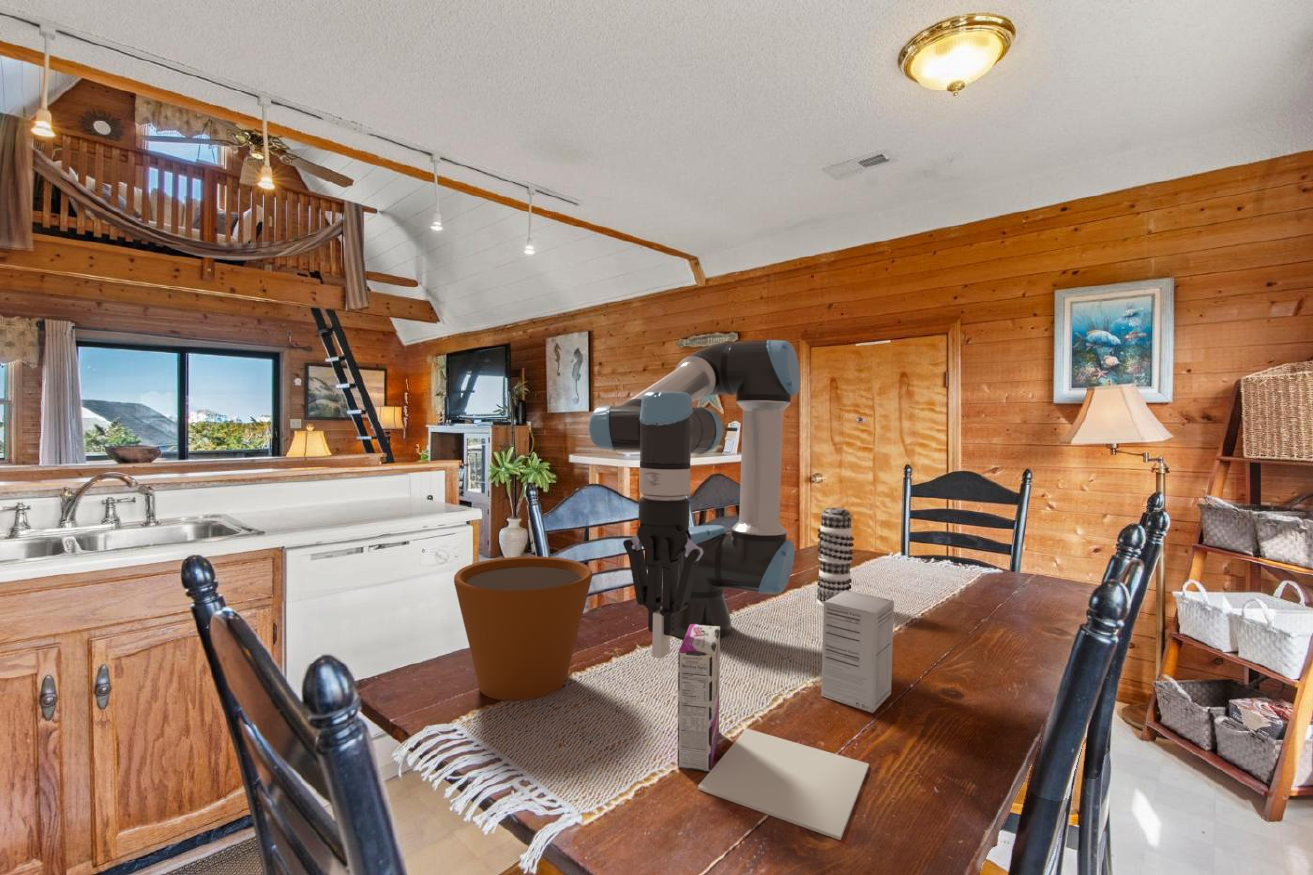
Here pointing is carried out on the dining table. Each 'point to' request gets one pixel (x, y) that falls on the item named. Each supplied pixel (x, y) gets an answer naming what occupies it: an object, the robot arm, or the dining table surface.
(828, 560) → the decorative candle
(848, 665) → the supplement box
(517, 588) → the flower pot
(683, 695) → the candy bar box
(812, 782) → the mat
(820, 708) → the dining table surface
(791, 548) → the robot arm
